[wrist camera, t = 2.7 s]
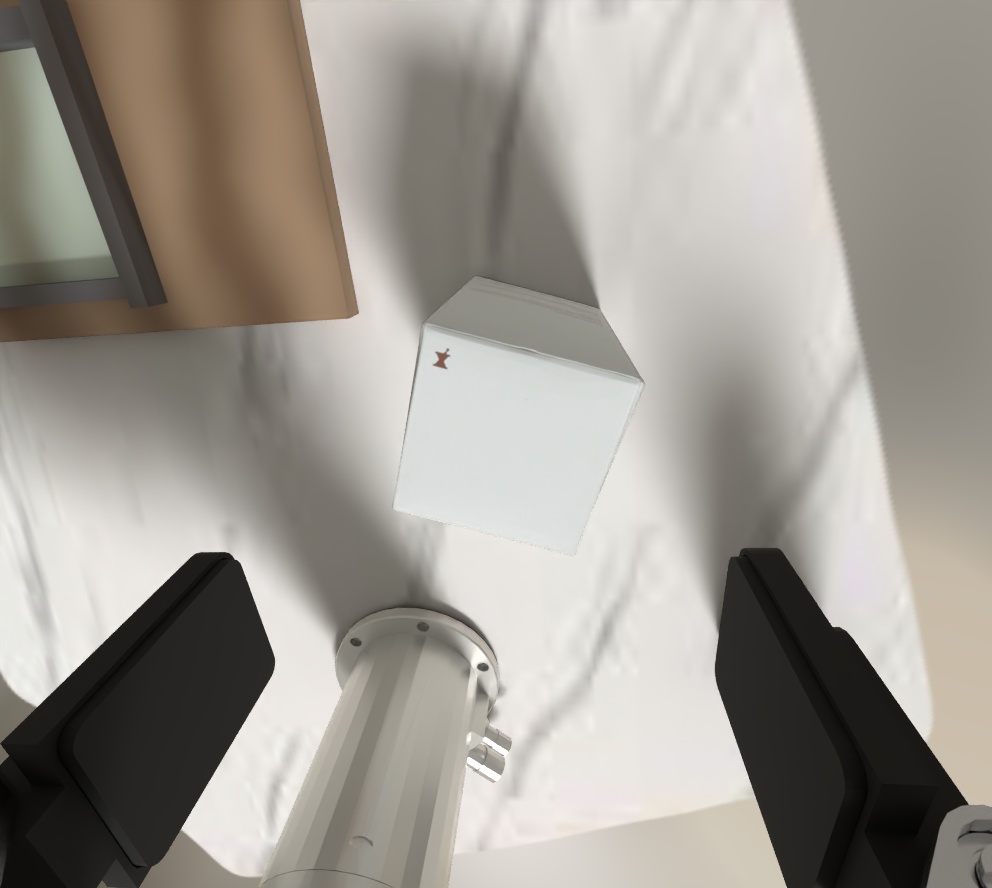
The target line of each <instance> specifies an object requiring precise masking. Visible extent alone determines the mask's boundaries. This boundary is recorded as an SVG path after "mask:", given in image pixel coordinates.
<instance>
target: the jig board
mask: <svg viewBox="0 0 992 888" xmlns="http://www.w3.org/2000/svg"><path fill="white" fill-rule="evenodd" d="M357 314H358V307H357V302H356V297H355V291H354V286H353V281H352V275H351V270H350V265H349V259H348V254H347V249H346V244H345V238H344V233H343V228H342V222H341V217H340V212H339V206H338V201H337V196H336V191H335V185H334V180H333V175H332V169H331V164H330V159H329V153H328V148H327V143H326V137H325V132H324V127H323V122H322V116H321V111H320V106H319V100H318V95H317V90H316V84H315V79H314V74H313V68H312V63H311V58H310V53H309V47H308V42H307V37H306V31H305V26H304V21H303V15H302V10H301V5H300V0H0V342H10V341H25V340H39V339H54V338H69V337H84V336H98V335H113V334H128V333H142V332H157V331H172V330H186V329H201V328H216V327H230V326H245V325H260V324H274V323H289V322H304V321H318V320H333V319H348V318H351V317H353V316H355V315H357Z"/></svg>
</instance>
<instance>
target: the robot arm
mask: <svg viewBox="0 0 992 888" xmlns="http://www.w3.org/2000/svg"><path fill="white" fill-rule="evenodd" d="M274 667H275V657H274V654H273V651H272V648H271V646H270V643H269V640H268V637H267V635H266V632H265V629H264V626H263V624H262V621H261V618H260V615H259V613H258V610H257V607H256V604H255V602H254V599H253V596H252V593H251V591H250V588H249V585H248V582H247V580H246V577H245V574H244V571H243V569H242V566H241V564H240V562H239V561H237V560H234V558H233V556H232V555H231V554H230V553H226V552H200V553H196V554H195V555H193V556H192V557H191V558H190V559H189V560H188V561H187V562H186V563H185V564H184V565H183V566H181V567H180V568H179V569H178V570H177V571H176V572H175V573H174V574H173V575H172V576H171V577H170V578H169V579H168V580H167V581H166V582H165V583H164V584H163V585H162V586H161V587H160V588H159V589H158V590H157V591H156V592H155V593H154V594H153V595H152V596H151V597H150V598H149V599H148V600H147V601H146V602H145V603H144V604H143V605H142V606H141V607H139V608H138V609H137V610H136V611H135V612H134V613H133V614H132V615H131V616H130V617H129V618H128V619H127V620H126V621H125V622H124V623H123V624H122V625H121V626H120V627H119V628H118V629H117V630H116V631H115V632H114V633H113V634H112V635H111V636H110V637H109V638H108V639H107V640H106V641H105V642H104V643H103V644H102V645H101V646H100V647H99V648H98V649H96V650H95V651H94V652H93V653H92V654H91V655H90V656H89V657H88V658H87V659H86V660H85V661H84V662H83V663H82V664H81V665H80V666H79V667H78V668H77V669H76V670H75V671H74V672H73V673H72V674H71V675H70V676H69V677H68V678H67V679H66V680H65V681H64V682H63V683H62V684H61V685H60V686H59V687H58V688H57V689H56V690H54V691H53V692H52V693H51V694H50V695H49V696H48V697H47V698H46V699H45V700H44V701H43V702H42V703H41V704H40V705H39V706H38V707H37V708H36V709H35V710H34V711H33V712H32V713H31V714H30V715H29V716H28V717H27V718H26V719H25V720H24V721H23V722H22V723H21V724H20V725H19V726H18V727H17V728H16V729H15V730H14V731H12V733H10V734H9V735H8V736H7V737H6V738H5V739H4V740H3V741H2V742H1V743H0V744H1V745H2V747H3V748H4V749H5V750H6V752H7V753H8V755H9V757H8V758H7V759H6V760H5V761H4V762H3V763H2V764H1V765H0V888H97V887H98V885H99V884H100V882H101V881H102V880H103V882H104V883H105V884H106V886H107V887H117V888H139V887H140V885H141V883H142V882H143V880H144V878H145V877H146V875H147V873H148V872H149V870H150V868H151V867H152V866H154V865H156V864H157V863H159V862H160V861H161V860H162V858H163V857H164V856H165V854H166V853H167V851H168V850H169V848H170V846H171V845H172V843H173V841H174V840H175V838H176V836H177V835H178V833H179V831H180V830H181V828H182V826H183V825H184V823H185V821H186V820H187V818H188V816H189V814H190V813H191V811H192V809H193V808H194V806H195V804H196V803H197V801H198V799H199V798H200V796H201V794H202V793H203V791H204V789H205V788H206V786H207V784H208V782H209V781H210V779H211V777H212V776H213V774H214V772H215V771H216V769H217V767H218V766H219V764H220V762H221V761H222V759H223V757H224V756H225V754H226V752H227V750H228V749H229V747H230V745H231V744H232V742H233V740H234V739H235V737H236V735H237V734H238V732H239V730H240V729H241V727H242V725H243V724H244V722H245V720H246V719H247V717H248V715H249V713H250V712H251V710H252V708H253V707H254V705H255V703H256V702H257V700H258V698H259V697H260V695H261V693H262V692H263V690H264V688H265V687H266V685H267V683H268V681H269V680H270V678H271V676H272V674H273V671H274ZM335 669H336V676H337V679H338V682H339V685H340V687H341V689H342V691H343V692H342V694H341V697H340V699H339V701H338V704H337V706H336V708H335V711H334V713H333V715H332V718H331V720H330V722H329V725H328V727H327V729H326V731H325V734H324V736H323V738H322V741H321V743H320V745H319V748H318V750H317V752H316V755H315V757H314V759H313V762H312V764H311V766H310V769H309V771H308V773H307V776H306V778H305V780H304V783H303V785H302V787H301V790H300V792H299V794H298V796H297V799H296V801H295V803H294V806H293V808H292V810H291V813H290V815H289V817H288V820H287V822H286V824H285V827H284V829H283V831H282V834H281V836H280V838H279V841H278V843H277V845H276V848H275V850H274V852H273V855H272V857H271V859H270V861H269V864H268V866H267V868H266V871H265V873H264V875H263V878H262V880H261V882H260V885H259V887H258V888H448V885H449V878H450V870H451V865H452V858H453V851H454V845H455V838H456V831H457V825H458V818H459V812H460V805H461V798H462V792H463V785H464V778H465V772H466V765H467V766H469V767H470V768H472V769H473V771H474V772H476V773H478V774H479V775H481V776H482V777H484V778H486V779H487V780H489V781H491V782H493V783H494V782H496V781H497V780H498V779H499V778H500V776H501V774H502V772H503V770H504V766H505V758H504V757H503V756H505V755H506V754H507V753H508V752H509V750H510V748H511V744H512V740H511V738H510V737H509V736H507V735H505V734H504V733H502V732H501V731H499V730H498V729H494V728H493V727H491V726H490V725H489V720H488V719H487V714H488V713H489V712H490V711H491V709H492V707H493V705H494V704H495V702H496V699H497V694H498V690H499V677H500V675H499V669H498V664H497V661H496V659H495V657H494V654H493V652H492V651H491V649H490V648H489V647H488V645H487V644H486V642H485V641H484V640H483V639H482V638H481V637H480V636H479V635H478V634H477V633H476V632H475V631H473V630H472V629H470V628H469V627H467V626H466V625H464V624H463V623H462V622H460V621H457V620H455V619H453V618H451V617H449V616H447V615H444V614H441V613H437V612H434V611H431V610H425V609H418V608H394V609H387V610H382V611H379V612H376V613H373V614H370V615H368V616H367V617H365V618H363V619H361V620H360V621H358V622H357V623H356V624H355V625H354V626H353V627H352V628H350V629H349V631H348V632H347V634H346V635H345V637H344V638H343V640H342V643H341V645H340V647H339V649H338V652H337V655H336V661H335ZM715 677H716V682H717V686H718V690H719V692H720V695H721V698H722V701H723V704H724V707H725V710H726V713H727V716H728V718H729V721H730V724H731V727H732V730H733V733H734V736H735V739H736V742H737V744H738V747H739V750H740V753H741V756H742V759H743V762H744V765H745V768H746V770H747V773H748V776H749V779H750V782H751V785H752V788H753V791H754V794H755V796H756V799H757V802H758V805H759V808H760V811H761V814H762V817H763V819H764V822H765V825H766V828H767V831H768V834H769V837H770V840H771V843H772V845H773V848H774V851H775V854H776V857H777V860H778V862H779V865H780V868H781V871H782V874H783V877H784V880H785V883H786V886H787V888H992V807H989V806H985V805H969V804H968V803H967V801H966V800H965V798H964V797H963V796H962V794H961V793H960V791H959V790H958V788H957V787H956V785H955V784H954V783H953V781H952V780H951V778H950V777H949V775H948V774H947V773H946V771H945V770H944V768H943V767H942V765H941V764H940V763H939V761H938V760H937V758H936V757H935V755H934V754H933V753H932V751H931V750H930V748H929V747H928V746H927V744H926V742H925V741H924V740H923V738H922V737H921V735H920V734H919V732H918V731H917V730H916V728H915V727H914V725H913V724H912V722H911V721H910V720H909V718H908V717H907V715H906V714H905V712H904V711H903V710H902V708H901V707H900V705H899V704H898V702H897V701H896V700H895V698H894V697H893V695H892V694H891V692H890V691H889V689H888V688H887V687H886V685H885V684H884V682H883V681H882V679H881V678H880V677H879V675H878V674H877V672H876V671H875V669H874V668H873V667H872V665H871V664H870V662H869V661H868V659H867V658H866V657H865V655H864V654H863V652H862V651H861V649H860V648H859V646H858V645H857V644H856V642H855V641H854V639H853V638H852V637H851V636H850V635H849V634H848V632H847V631H845V630H843V629H842V628H840V627H832V626H831V624H830V623H829V621H828V620H827V618H826V617H825V615H824V614H823V612H822V611H821V609H820V608H819V606H818V605H817V603H816V602H815V600H814V599H813V597H812V596H811V594H810V593H809V591H808V590H807V588H806V587H805V585H804V584H803V582H802V581H801V579H800V578H799V576H798V575H797V573H796V572H795V570H794V569H793V567H792V566H791V564H790V563H789V561H788V560H787V558H786V557H785V555H784V554H783V552H782V551H781V550H780V549H778V548H744V549H742V550H741V552H740V555H739V557H731V558H730V560H729V565H728V572H727V580H726V587H725V595H724V602H723V609H722V617H721V624H720V631H719V639H718V646H717V654H716V661H715ZM481 742H482V743H484V744H486V745H487V746H488V747H487V746H486V745H482V744H480V743H481Z"/></svg>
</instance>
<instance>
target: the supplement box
mask: <svg viewBox="0 0 992 888" xmlns="http://www.w3.org/2000/svg"><path fill="white" fill-rule="evenodd" d="M643 388H644V381H643V379H642V378H641V376H640V375H639V373H638V371H637V370H636V368H635V366H634V365H633V363H632V361H631V360H630V358H629V356H628V355H627V353H626V351H625V350H624V348H623V346H622V345H621V343H620V341H619V340H618V338H617V336H616V335H615V333H614V331H613V330H612V328H611V326H610V325H609V323H608V321H607V320H606V318H605V316H604V315H603V313H602V311H601V310H600V309H598V308H595V307H592V306H588V305H585V304H581V303H578V302H574V301H571V300H567V299H563V298H560V297H556V296H552V295H548V294H544V293H541V292H537V291H533V290H529V289H525V288H521V287H518V286H514V285H510V284H506V283H502V282H498V281H494V280H490V279H486V278H482V277H479V276H474V277H473V278H472V279H471V280H470V281H469V282H468V283H467V284H465V285H464V286H463V287H462V288H461V289H460V290H459V291H458V292H456V293H455V294H454V295H453V296H452V297H451V298H450V299H449V300H448V301H447V302H445V303H444V304H443V305H442V306H441V307H440V308H439V309H437V310H436V311H435V312H434V313H433V314H432V315H431V316H430V317H429V318H428V319H426V320H425V321H424V322H423V323H422V327H421V334H420V340H419V346H418V353H417V359H416V366H415V372H414V378H413V385H412V391H411V397H410V404H409V410H408V417H407V423H406V429H405V436H404V442H403V448H402V455H401V461H400V467H399V472H398V478H397V484H396V489H395V495H394V501H393V509H394V510H395V511H398V512H402V513H406V514H410V515H415V516H419V517H423V518H427V519H431V520H435V521H439V522H443V523H447V524H451V525H455V526H459V527H462V528H466V529H470V530H474V531H478V532H482V533H486V534H490V535H494V536H498V537H502V538H505V539H509V540H513V541H517V542H521V543H525V544H529V545H533V546H536V547H540V548H544V549H548V550H552V551H556V552H560V553H564V554H567V555H571V556H574V555H575V554H576V551H577V548H578V546H579V543H580V541H581V538H582V535H583V533H584V530H585V527H586V525H587V522H588V520H589V517H590V515H591V512H592V510H593V507H594V505H595V502H596V500H597V498H598V495H599V493H600V491H601V488H602V486H603V483H604V481H605V479H606V476H607V474H608V471H609V469H610V467H611V464H612V462H613V460H614V457H615V455H616V452H617V450H618V448H619V445H620V443H621V440H622V438H623V436H624V433H625V431H626V429H627V426H628V424H629V421H630V419H631V417H632V414H633V412H634V409H635V407H636V405H637V402H638V400H639V398H640V395H641V393H642V391H643Z"/></svg>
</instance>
